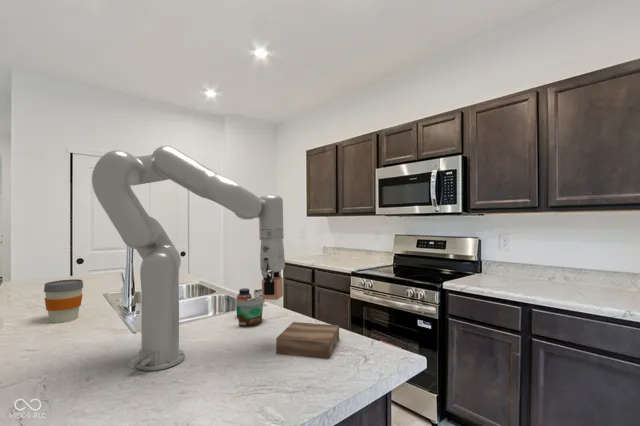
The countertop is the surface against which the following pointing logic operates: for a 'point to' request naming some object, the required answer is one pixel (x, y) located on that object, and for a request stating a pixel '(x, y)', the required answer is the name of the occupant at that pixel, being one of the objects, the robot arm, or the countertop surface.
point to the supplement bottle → (243, 295)
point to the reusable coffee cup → (63, 300)
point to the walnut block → (308, 340)
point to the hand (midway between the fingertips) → (272, 292)
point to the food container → (250, 311)
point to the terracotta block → (277, 287)
